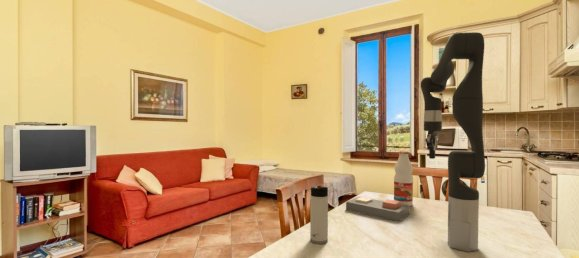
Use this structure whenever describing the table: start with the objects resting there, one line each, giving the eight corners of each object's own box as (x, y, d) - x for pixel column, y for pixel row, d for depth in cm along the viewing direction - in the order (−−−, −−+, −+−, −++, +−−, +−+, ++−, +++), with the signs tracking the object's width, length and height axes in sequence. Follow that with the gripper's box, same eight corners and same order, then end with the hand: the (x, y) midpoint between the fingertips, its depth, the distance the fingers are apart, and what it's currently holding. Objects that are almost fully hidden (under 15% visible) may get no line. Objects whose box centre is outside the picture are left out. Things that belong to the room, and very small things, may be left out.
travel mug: (314, 245, 105) (314, 188, 104) (307, 238, 111) (308, 184, 111) (330, 243, 106) (331, 187, 106) (323, 236, 113) (324, 183, 112)
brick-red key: (395, 212, 136) (395, 204, 136) (382, 210, 140) (382, 201, 140) (400, 210, 141) (400, 201, 141) (387, 207, 145) (387, 199, 144)
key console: (398, 221, 131) (398, 212, 131) (346, 209, 148) (346, 201, 148) (409, 214, 142) (409, 205, 142) (359, 204, 159) (359, 196, 159)
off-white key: (366, 209, 145) (366, 201, 145) (355, 207, 149) (355, 199, 149) (372, 207, 150) (372, 199, 150) (361, 204, 154) (361, 197, 154)
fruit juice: (415, 203, 160) (416, 151, 160) (408, 207, 153) (409, 152, 152) (397, 200, 166) (398, 150, 166) (390, 204, 159) (391, 151, 159)
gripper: (437, 120, 130) (436, 160, 130) (445, 120, 140) (444, 158, 140) (419, 120, 135) (418, 159, 135) (428, 120, 145) (427, 156, 145)
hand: (432, 158), depth 138 cm, fingers closed
